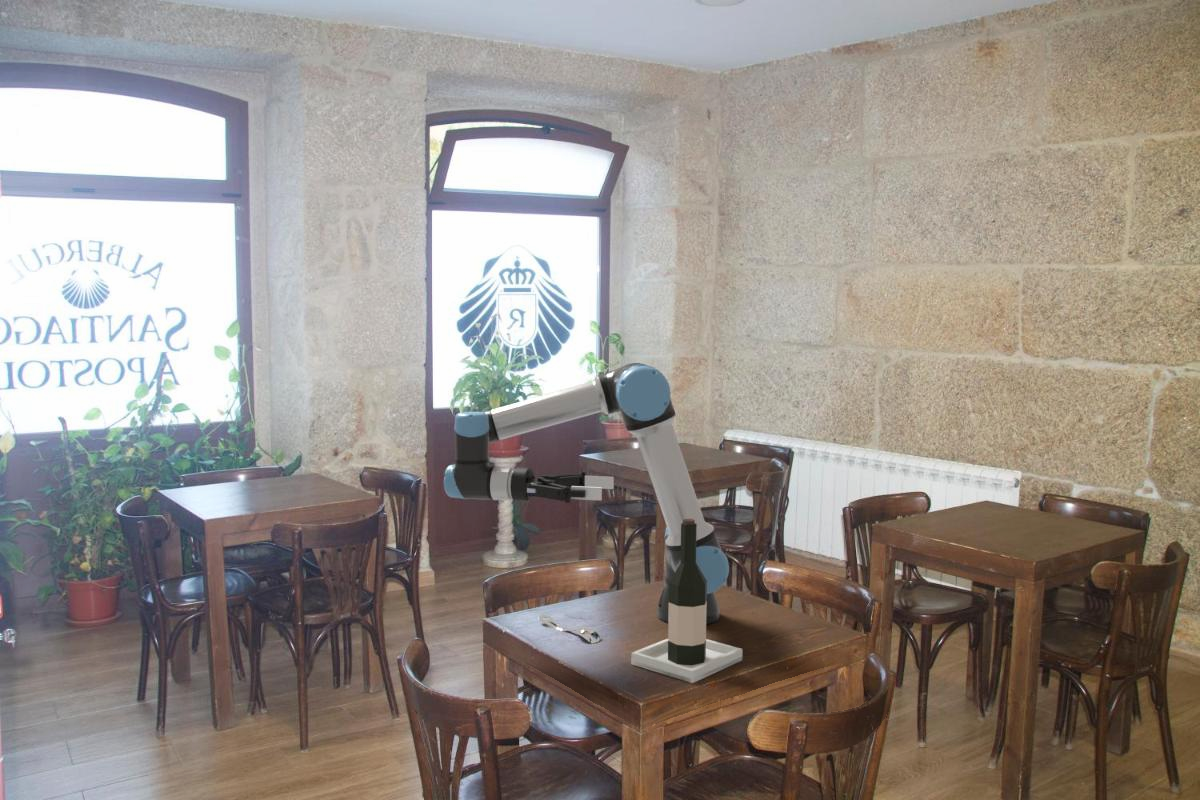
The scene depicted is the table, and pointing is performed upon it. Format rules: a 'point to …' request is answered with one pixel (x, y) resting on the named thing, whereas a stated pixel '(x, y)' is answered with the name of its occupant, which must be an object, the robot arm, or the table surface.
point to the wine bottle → (687, 604)
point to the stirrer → (585, 632)
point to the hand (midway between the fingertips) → (607, 488)
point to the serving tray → (658, 662)
